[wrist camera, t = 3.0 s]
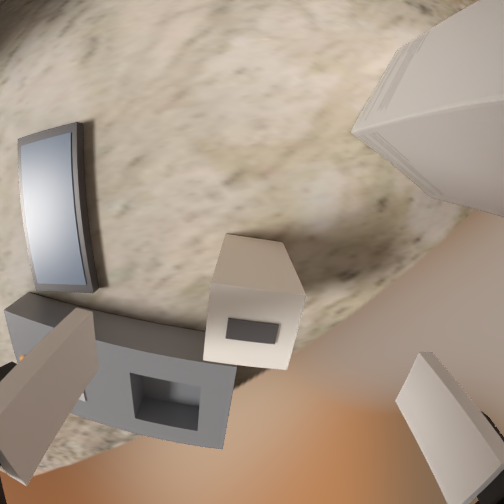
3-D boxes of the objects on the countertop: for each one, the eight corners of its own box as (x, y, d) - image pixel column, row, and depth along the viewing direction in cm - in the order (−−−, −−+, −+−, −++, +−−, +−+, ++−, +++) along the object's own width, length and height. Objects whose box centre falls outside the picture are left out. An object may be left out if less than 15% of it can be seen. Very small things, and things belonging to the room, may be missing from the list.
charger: (225, 233, 21) (210, 283, 12) (282, 242, 21) (306, 296, 12) (218, 286, 22) (202, 361, 13) (272, 294, 22) (287, 371, 13)
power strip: (28, 292, 22) (2, 310, 18) (238, 336, 23) (236, 368, 19) (45, 373, 25) (28, 396, 21) (224, 418, 26) (222, 450, 22)
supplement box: (432, 202, 20) (589, 258, 6) (346, 132, 19) (512, 96, 5) (473, 118, 18) (614, 115, 4) (397, 47, 17) (529, -30, 3)
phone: (25, 139, 18) (17, 138, 17) (83, 123, 18) (76, 121, 17) (42, 286, 22) (35, 290, 21) (98, 288, 22) (93, 293, 21)
